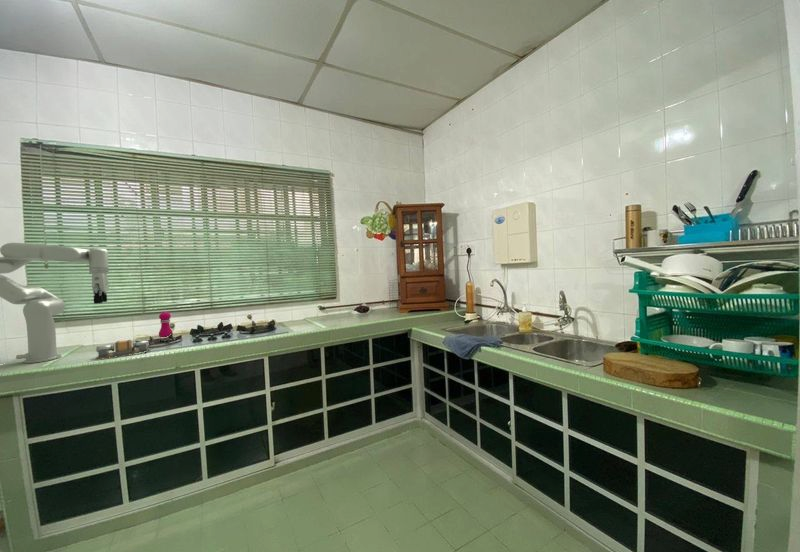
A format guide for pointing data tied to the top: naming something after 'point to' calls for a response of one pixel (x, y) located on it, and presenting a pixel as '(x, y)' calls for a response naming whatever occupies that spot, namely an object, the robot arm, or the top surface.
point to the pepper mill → (165, 324)
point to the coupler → (123, 345)
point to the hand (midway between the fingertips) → (100, 302)
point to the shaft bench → (104, 351)
